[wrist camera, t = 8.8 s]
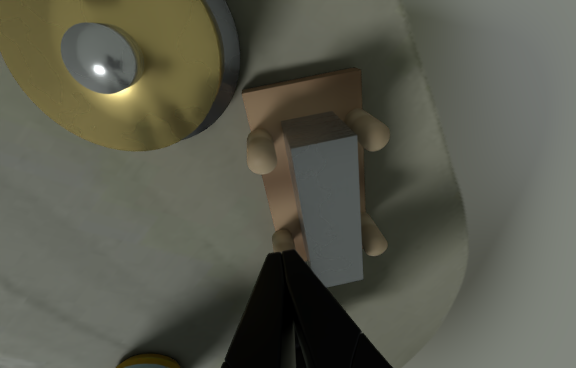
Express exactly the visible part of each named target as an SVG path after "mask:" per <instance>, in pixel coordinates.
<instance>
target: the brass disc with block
mask: <svg viewBox="0 0 576 368" xmlns="http://www.w3.org/2000/svg"><path fill="white" fill-rule="evenodd" d="M84 22H89V23H107V24H112V25H115V26H117V27H120V28H121V29H123V30H124V31H126V32H127V33H128V34H130V35H131V36H132V37H133V39H134V40H135V41H136V42H137V44H138V45H139V47H140V49H141V51H142V54H143V58H144V71H143V74H142V76H141V78H140V80H139V81H138V82H137V83H136V84H134V85H133V86H131V87H128V88H126V89H124V90H122V91H120V92H118V93H114V94H101V93H97V92H94V91H92V90H89V89H87V88H86V87H84V86H83V85H81V84H80V83H79V82H77V81H76V80H75V79H74V78H73V77H72V75H71V74H70V73H69V71H68V70H67V68H66V66H65V64H64V62H63V59H62V56H61V40H62V37H63V35H64V34H65V32H66V31H67V30H68V29H69V28H70V27H72V26H73V25H75V24H78V23H84ZM0 51H1V54H2V56H3V58H4V61H5V63H6V65H7V66H8V68H9V70H10V72H11V73H12V75H13V77H14V78H15V80H16V81H17V83H18V84H19V85H20V87H21V88H22V90H23V91H24V92H25V93H26V94H27V96H28V97H29V98H30V99H31V100H32V101H33V103H35V104H36V105H37V106H38V107H39V108H40V109H41V110H42V111H43V112H44V113H45V114H46V115H47V116H49V117H50V118H51V119H52V120H54V121H55V122H56V123H58V124H59V125H61V126H62V127H64V128H65V129H67V130H68V131H70V132H72V133H73V134H75V135H77V136H79V137H81V138H83V139H85V140H88V141H90V142H92V143H95V144H98V145H101V146H104V147H108V148H112V149H117V150H124V151H149V150H156V149H160V148H164V147H167V146H170V145H172V144H174V143H177V142H179V141H180V140H182V139H184V138H185V137H187V136H188V135H189V134H191V133H192V132H193V131H194V130H195V129H196V128H197V127H198V126H199V125H200V124H201V123H202V122H203V120H204V119H205V117H206V116H207V114H208V113H209V110H210V108H211V106H212V104H213V102H214V100H215V98H216V96H217V94H218V92H219V89H220V86H221V83H222V79H223V74H224V61H225V58H224V47H223V42H222V36H221V33H220V30H219V27H218V24H217V21H216V19H215V17H214V15H213V12H212V11H211V9H210V7H209V5H208V4H207V2H206V0H0Z"/></svg>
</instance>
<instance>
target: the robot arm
mask: <svg viewBox="0 0 576 368" xmlns="http://www.w3.org/2000/svg"><path fill="white" fill-rule="evenodd" d="M221 368H393V367H392V366H391V365H390V364H389V363H388V362H387V360H386V359H385V358H384V357H383V356H382V355H381V354H380V352H379V351H378V350H377V349H376V348H375V347H374V345H373V344H372V343H371V342H370V341H369V339H368V338H367V337H366V336H365V334H364V333H362V331H361V330H360V328H359V327H358V326H357V325H356V324H355V322H354V321H353V320H352V319H351V317H350V316H349V315H348V314H347V313H346V311H345V310H344V309H343V308H342V306H341V305H340V304H339V303H338V301H337V300H336V299H335V298H334V297H333V295H332V294H331V293H330V292H329V290H328V289H327V288H326V287H325V286H324V284H323V283H322V282H321V281H320V279H319V278H318V277H317V276H316V275H315V273H314V272H313V271H312V270H311V268H310V267H309V266H308V265H307V263H306V262H305V261H304V260H303V259H302V257H301V256H300V255H299V254H298V252H297V251H296V250H295V249H289V250H284V251H282V254H281V252H274V253H269V254H268V255H267V257H266V259H265V262H264V264H263V267H262V269H261V271H260V274H259V276H258V279H257V281H256V284H255V286H254V289H253V291H252V293H251V296H250V298H249V301H248V303H247V306H246V308H245V310H244V313H243V315H242V318H241V320H240V323H239V325H238V328H237V330H236V332H235V335H234V337H233V340H232V342H231V345H230V347H229V349H228V352H227V354H226V357H225V362H223V364H222V366H221Z"/></svg>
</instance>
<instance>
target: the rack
mask: <svg viewBox="0 0 576 368" xmlns="http://www.w3.org/2000/svg"><path fill="white" fill-rule="evenodd" d="M242 97H243V101H244V105H245V109H246V113H247V117H248V121H249V125H250V129H251V133H250V134H249V135H248V138H247V164H248V167H249V168H250V170H251V171H253V172H254V173H256V174H262V178H263V182H264V186H265V190H266V194H267V198H268V202H269V206H270V210H271V215H272V219H273V223H274V227H275V231H276V232H275V233H274V234H273V236H272V241H273V250H274V252H281V254H282V251H284V250H289V249H295V250H296V251H297V252H298V254H299V255H300V256H301V257H302V259H303V260H304V261H305V262H306V261H308V260H307V256H306V252H305V248H304V244H303V239H302V234H301V228H300V223H299V218H298V212H297V207H296V201H295V196H294V190H293V185H292V180H291V174H290V169H289V163H288V158H287V153H286V147H285V142H284V136H283V131H282V126H281V121H284V120H289V119H294V118H299V117H304V116H309V115H314V114H319V113H324V112H329V111H333V112H334V113H335V114H336V115H337V116H338V117H339V118H340V119H341V120H342V121H343V122H344V123H345V124H346V125H347V126H348V127H349V128H350V129H351V130H352V131H353V132H354V133H355V134H357V142H358V166H359V189H360V213H361V237H362V249H364V250H365V252H366V253H367V254H368V255H370V256H377V255H380V254H382V253H383V252H384V251H385V250H386V249H387V247H388V243H387V241H386V239H385V238H384V236H383V235H382V233H381V232H380V230H379V229H378V227H377V226H376V224H375V222H374V221H373V219H372V218H371V216H370V215H369V214H368V213H366V208H365V176H364V148H365V149H366V150H368V151H378V150H380V149H382V148H383V147H384V146H385V145H386V144H387V143H388V141H389V138H390V130H389V128H388V127H387V126H386V125H385V124H383V123H382V122H381V121H379V120H378V119H376V118H375V117H373V116H372V115H370V114H369V113H368V112H366V111H365V110H363V109H362V81H361V70H360V69H358V68H355V67H353V68H348V69H343V70H338V71H333V72H328V73H323V74H318V75H313V76H308V77H303V78H299V79H294V80H289V81H284V82H279V83H274V84H269V85H264V86H259V87H254V88H249V89H244V90H242Z"/></svg>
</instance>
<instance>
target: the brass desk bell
mask: <svg viewBox="0 0 576 368" xmlns="http://www.w3.org/2000/svg"><path fill="white" fill-rule="evenodd" d="M206 2H207V4H208V5H209V7H210V9H211V11H212V12H213V15H214V17H215V19H216V21H217V24H218V27H219V30H220V33H221V36H222V42H223V47H224V58H225V61H224V74H223V79H222V83H221V86H220V89H219V92H218V94H217V96H216V98H215V100H214V102H213V104H212V106H211V108H210V110H209V113H208V114H207V116H206V117H205V119H204V120H203V122H202V123H201V124H200V125H199V126H198V127H197V128H196V129H195V130H194V131H193V132H192V133H191V134H189V135H188V136H187V137H185V138H184V139H187V138H190V137H192V136H194V135H197V134H199V133H200V132H202V131H204V130H205V129H207V128H208V127H209V126H211V125H212V124H213V123H214V122H215V121H216V120H217V119H218V118H219V117H220V116H221V115H222V113H223V112H224V111H225V109H226V108H227V106H228V105H229V103H230V101H231V99H232V97H233V94H234V91H235V88H236V85H237V81H238V76H239V71H240V44H239V38H238V32H237V29H236V25H235V22H234V19H233V16H232V14H231V12H230V9H229V7H228V5H227V3H226V1H225V0H206ZM61 56H62V59H63V62H64V64H65V66H66V68H67V70H68V71H69V73H70V74H71V75H72V77H73V78H74V79H75V80H76V81H77V82H79V83H80V84H81V85H83V86H84V87H86V88H87V89H89V90H92V91H94V92H97V93H101V94H114V93H118V92H120V91H122V90H124V89H126V88H128V87H131V86H133V85H134V84H136V83H137V82H138V81H139V80H140V78H141V76H142V74H143V71H144V58H143V54H142V51H141V49H140V47H139V45H138V44H137V42H136V41H135V40H134V39H133V37H132V36H131V35H130V34H128V33H127V32H126V31H124V30H123V29H121V28H120V27H117V26H115V25H112V24H107V23H89V22H84V23H78V24H75V25H73V26H72V27H70V28H69V29H68V30H67V31H66V32H65V34H64V35H63V37H62V40H61ZM182 140H183V139H182Z"/></svg>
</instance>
